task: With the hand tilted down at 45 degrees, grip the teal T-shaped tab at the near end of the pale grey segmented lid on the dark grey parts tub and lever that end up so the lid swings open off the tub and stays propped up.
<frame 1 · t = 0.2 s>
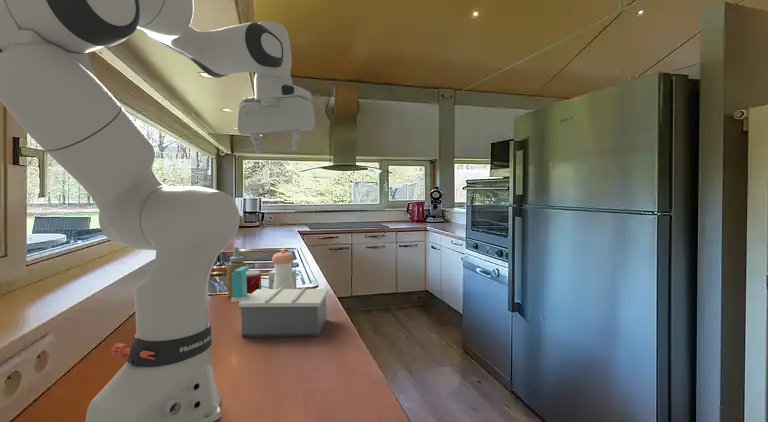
hand: (276, 151, 96), 48 cm above the worktop, tool pointing down, fingers open, 8 cm apart
pepper shaker: (284, 308, 130), on the worktop
small box: (283, 300, 140), on the worktop
lid: (278, 283, 110), point 13 cm above the worktop, hinge at 0.0°
squeeze bottle: (237, 296, 147), on the worktop
canned food: (249, 304, 135), on the worktop
tub: (286, 328, 111), on the worktop
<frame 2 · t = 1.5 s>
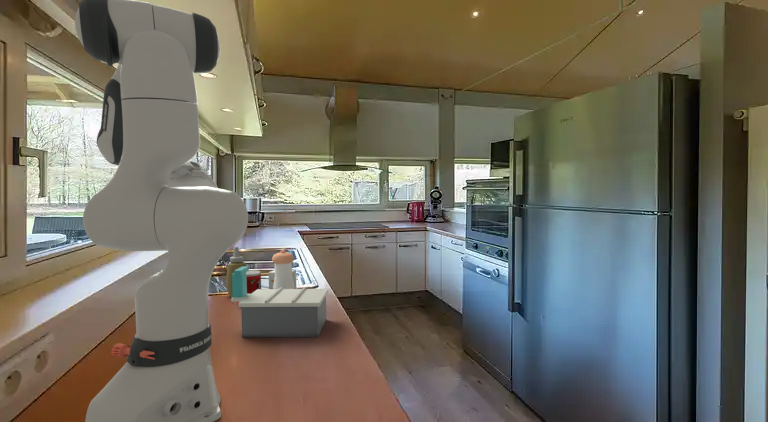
hand: (206, 207, 110), 34 cm above the worktop, tool tilted 45°, fingers open, 8 cm apart
nothing on the worktop moved.
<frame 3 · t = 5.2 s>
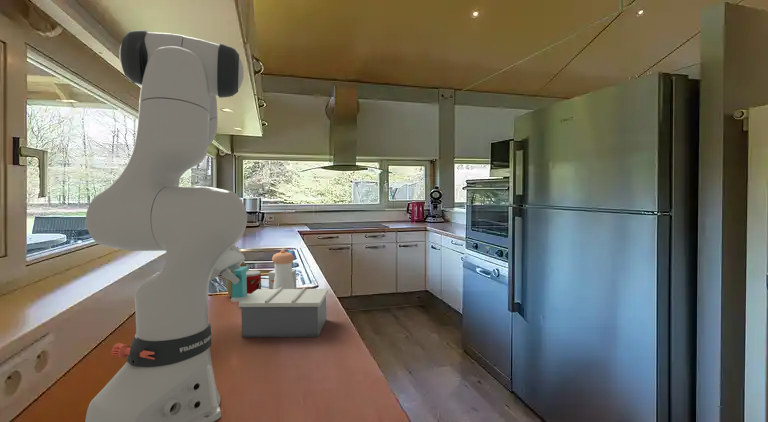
hand: (241, 280, 110), 14 cm above the worktop, tool tilted 45°, fingers closed on lid, 3 cm apart
lid: (278, 283, 110), point 13 cm above the worktop, hinge at 0.0°, touching gripper
everything else where it was.
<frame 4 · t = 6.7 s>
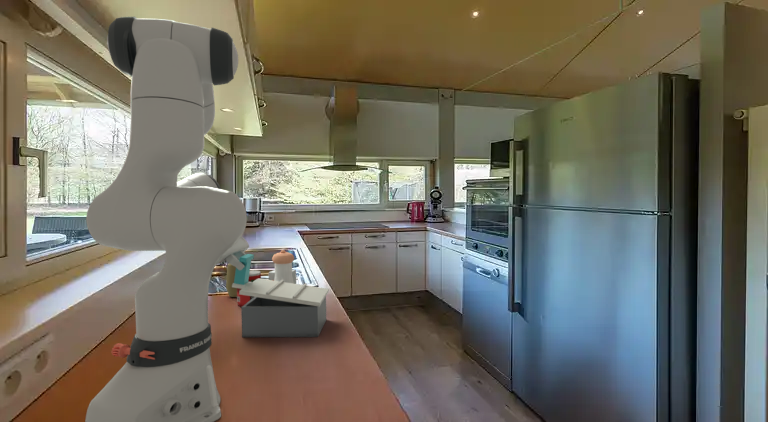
hand: (246, 266, 110), 17 cm above the worktop, tool tilted 45°, fingers closed on lid, 3 cm apart
lid: (281, 276, 110), point 14 cm above the worktop, hinge at 9.1°, touching gripper
everything else where it was.
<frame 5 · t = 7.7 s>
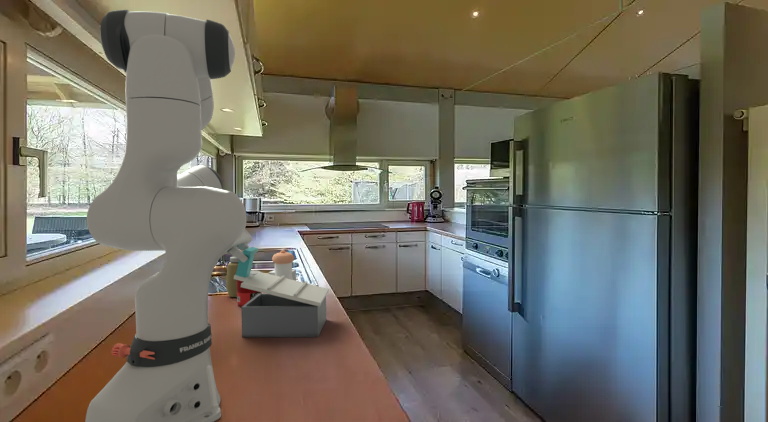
hand: (249, 259, 110), 20 cm above the worktop, tool tilted 45°, fingers closed on lid, 3 cm apart
lid: (283, 273, 110), point 16 cm above the worktop, hinge at 14.4°, touching gripper
everything else where it was.
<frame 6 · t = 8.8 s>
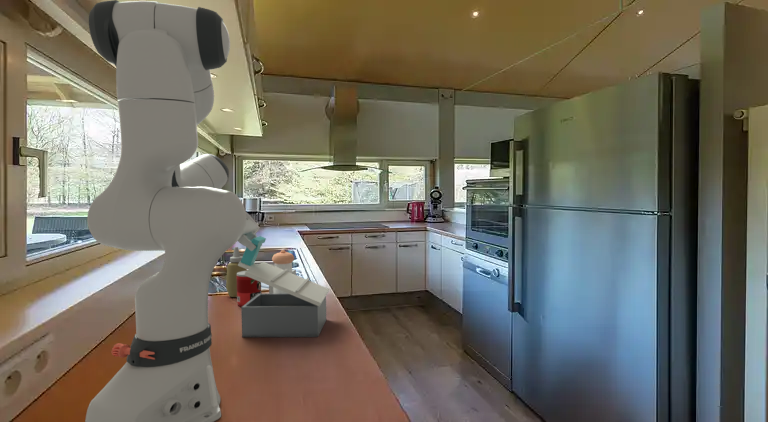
hand: (257, 247, 110), 23 cm above the worktop, tool tilted 45°, fingers closed on lid, 3 cm apart
lid: (288, 267, 110), point 17 cm above the worktop, hinge at 23.3°, touching gripper
everything else where it was.
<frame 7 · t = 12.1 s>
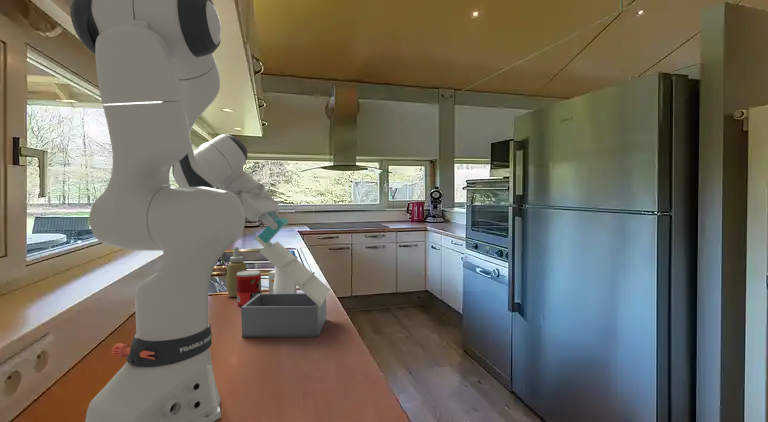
hand: (280, 227, 110), 28 cm above the worktop, tool tilted 45°, fingers open, 5 cm apart
lid: (301, 257, 110), point 20 cm above the worktop, hinge at 43.3°
everything else where it was.
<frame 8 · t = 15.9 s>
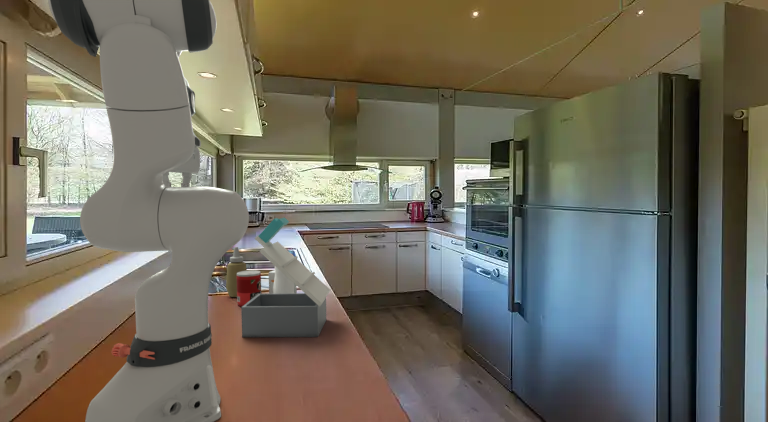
hand: (176, 189, 107), 39 cm above the worktop, tool pointing down, fingers open, 8 cm apart
nothing on the worktop moved.
at the end: lid at +43° (first picture: +0°); the gripper is holding nothing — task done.
